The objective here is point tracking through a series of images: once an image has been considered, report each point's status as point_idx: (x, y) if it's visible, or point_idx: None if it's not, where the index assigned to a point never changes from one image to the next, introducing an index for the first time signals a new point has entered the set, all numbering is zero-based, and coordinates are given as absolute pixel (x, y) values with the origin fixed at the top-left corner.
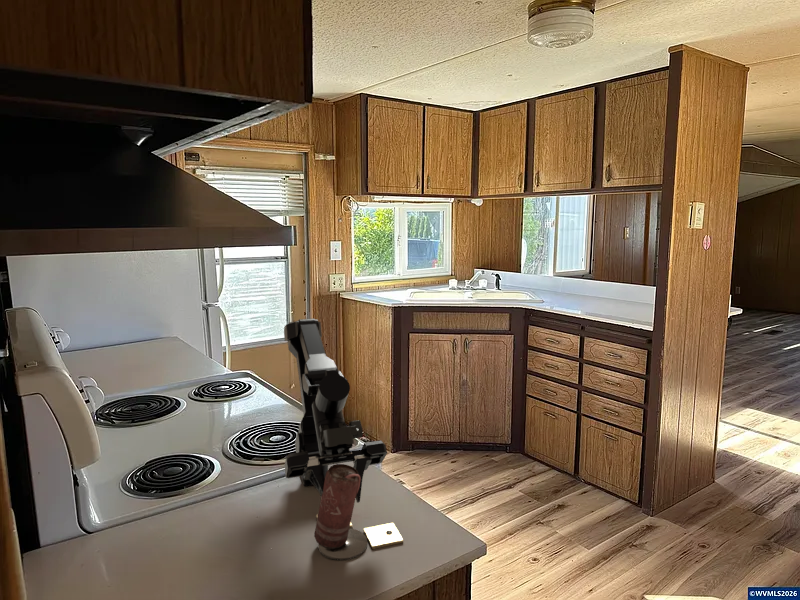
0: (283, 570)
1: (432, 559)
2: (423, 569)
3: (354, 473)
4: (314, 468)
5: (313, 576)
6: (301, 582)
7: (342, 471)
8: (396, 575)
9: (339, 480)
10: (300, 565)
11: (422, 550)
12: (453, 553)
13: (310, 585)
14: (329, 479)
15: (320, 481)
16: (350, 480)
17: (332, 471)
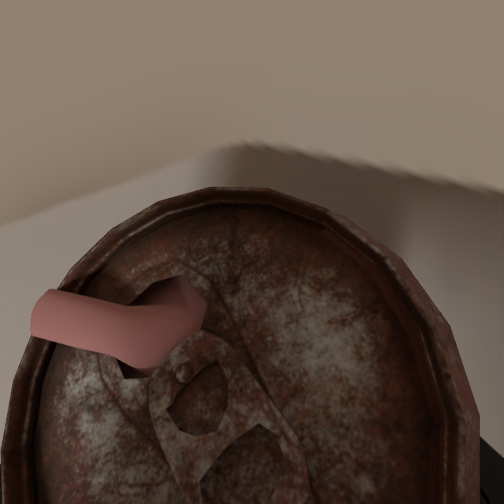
0: (485, 284)
1: (65, 221)
2: (102, 191)
3: (61, 397)
4: None
5: (388, 233)
6: (424, 217)
7: (197, 436)
8: (171, 185)
9: (290, 198)
10: (428, 294)
11: (70, 263)
12: (9, 230)
13: (398, 199)
14: (421, 287)
15: (496, 480)
16: (160, 205)
17: (369, 469)
